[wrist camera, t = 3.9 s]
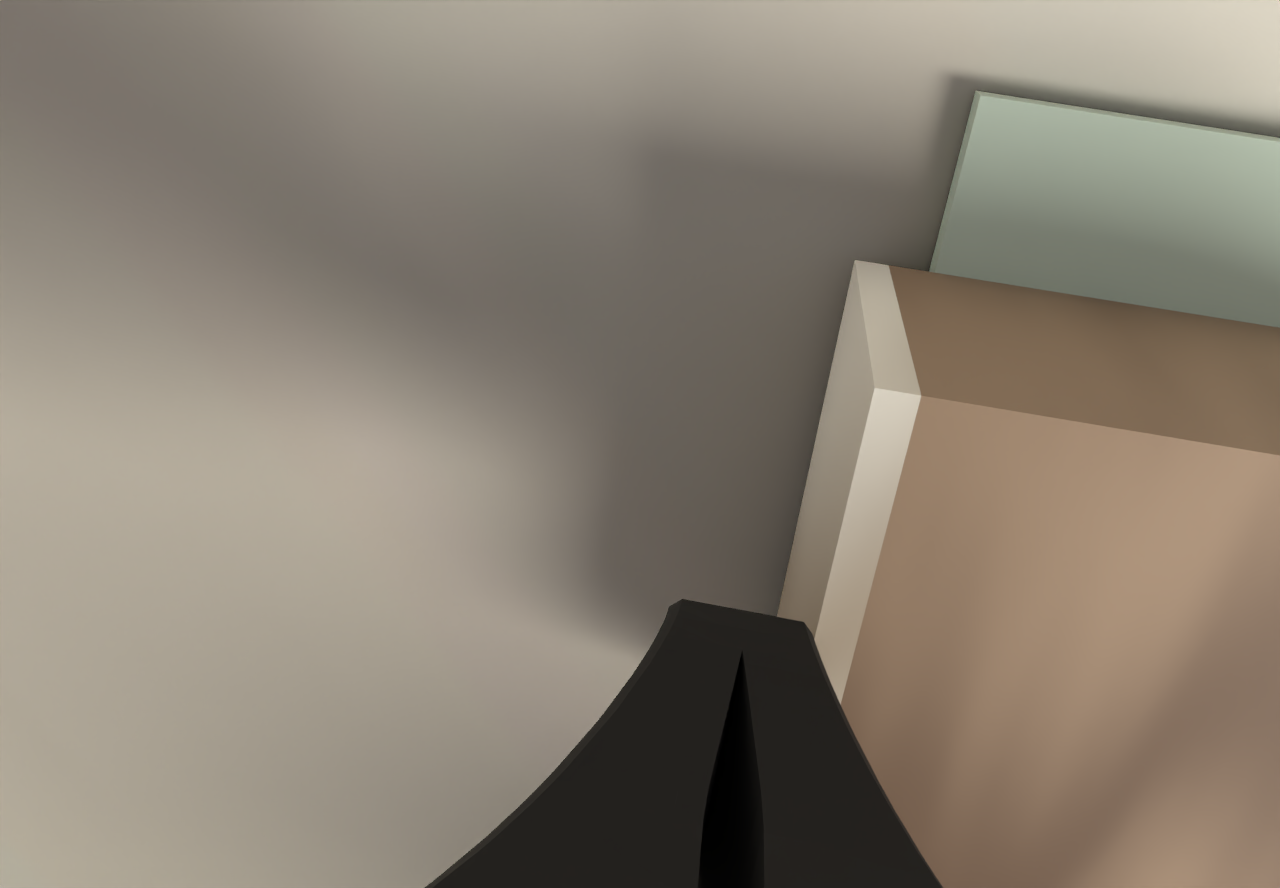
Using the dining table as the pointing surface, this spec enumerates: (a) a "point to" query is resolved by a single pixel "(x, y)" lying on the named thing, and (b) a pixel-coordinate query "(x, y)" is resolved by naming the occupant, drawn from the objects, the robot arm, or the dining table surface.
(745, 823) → the robot arm
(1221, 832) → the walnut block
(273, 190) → the dining table surface
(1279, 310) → the sage mat
